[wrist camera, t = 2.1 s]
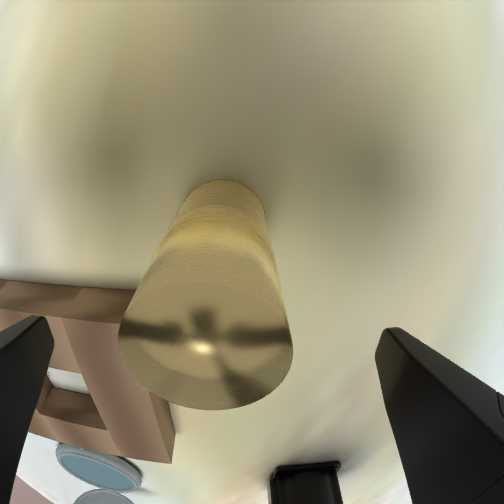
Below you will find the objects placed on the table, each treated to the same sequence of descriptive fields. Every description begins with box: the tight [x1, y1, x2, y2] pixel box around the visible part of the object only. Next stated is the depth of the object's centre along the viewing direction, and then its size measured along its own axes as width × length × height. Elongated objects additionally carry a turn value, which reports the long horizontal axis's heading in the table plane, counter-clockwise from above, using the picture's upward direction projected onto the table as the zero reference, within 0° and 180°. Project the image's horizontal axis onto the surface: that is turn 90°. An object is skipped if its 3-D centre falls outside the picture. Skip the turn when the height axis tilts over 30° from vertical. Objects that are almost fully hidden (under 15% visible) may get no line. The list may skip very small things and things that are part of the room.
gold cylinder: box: [118, 180, 293, 410], centre depth 11 cm, size 4×4×9 cm
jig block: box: [0, 279, 175, 464], centre depth 18 cm, size 14×14×3 cm
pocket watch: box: [56, 443, 142, 504], centre depth 21 cm, size 10×11×15 cm
